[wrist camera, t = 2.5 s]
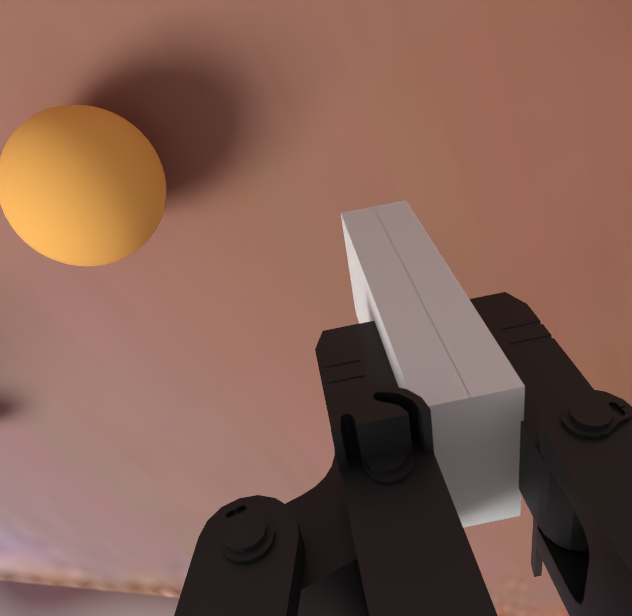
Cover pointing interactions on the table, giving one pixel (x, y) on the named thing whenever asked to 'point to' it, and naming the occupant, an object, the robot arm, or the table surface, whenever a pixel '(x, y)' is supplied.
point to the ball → (81, 185)
